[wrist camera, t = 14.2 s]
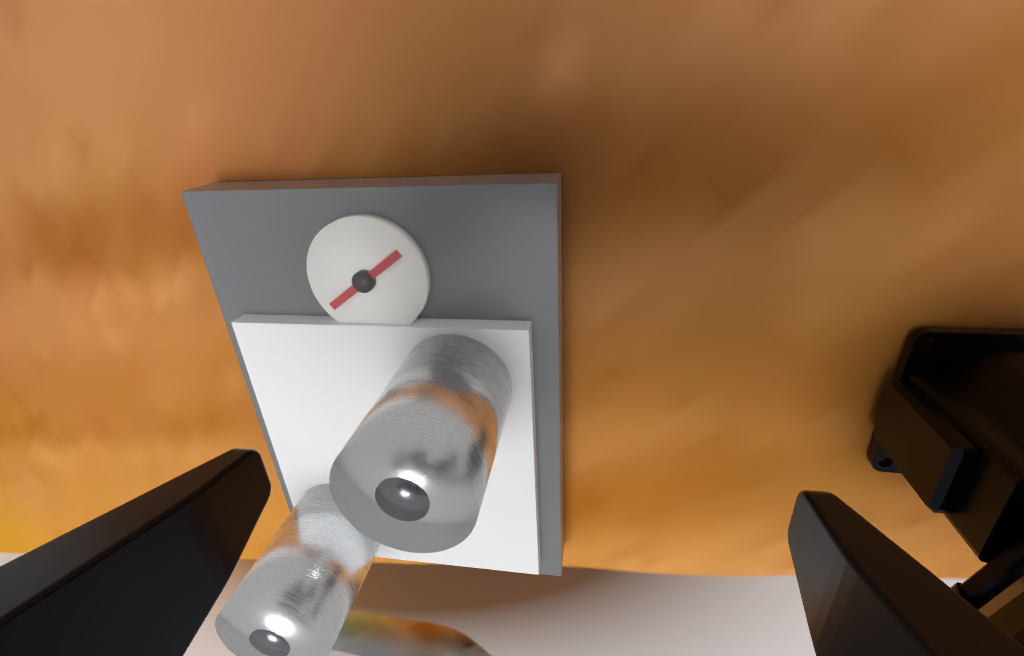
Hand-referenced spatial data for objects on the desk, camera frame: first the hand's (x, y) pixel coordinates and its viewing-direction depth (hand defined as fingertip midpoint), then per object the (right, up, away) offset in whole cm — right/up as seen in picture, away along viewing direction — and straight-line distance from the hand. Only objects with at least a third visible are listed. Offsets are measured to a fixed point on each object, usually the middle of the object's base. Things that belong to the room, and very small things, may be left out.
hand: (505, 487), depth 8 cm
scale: (-5, 0, +15) cm, 16 cm away
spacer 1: (-8, -7, +16) cm, 19 cm away
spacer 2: (-2, +1, +11) cm, 11 cm away
